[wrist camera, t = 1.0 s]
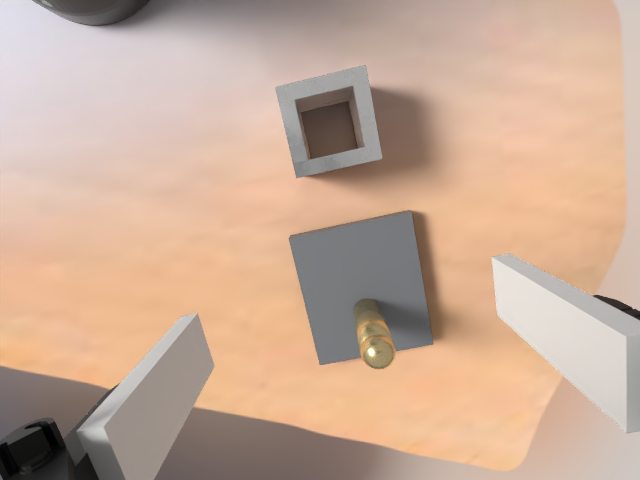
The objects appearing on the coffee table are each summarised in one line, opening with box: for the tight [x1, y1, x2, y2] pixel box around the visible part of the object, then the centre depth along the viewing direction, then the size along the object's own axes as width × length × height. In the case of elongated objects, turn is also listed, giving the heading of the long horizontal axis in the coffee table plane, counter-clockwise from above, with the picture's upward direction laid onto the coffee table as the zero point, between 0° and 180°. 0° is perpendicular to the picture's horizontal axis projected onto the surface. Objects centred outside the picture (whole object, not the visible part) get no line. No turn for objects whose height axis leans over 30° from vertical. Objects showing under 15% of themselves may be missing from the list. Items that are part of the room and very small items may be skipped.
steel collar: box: [275, 65, 383, 178], centre depth 29 cm, size 7×7×6 cm
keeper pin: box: [353, 298, 396, 369], centre depth 30 cm, size 3×3×9 cm
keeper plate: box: [289, 210, 433, 365], centre depth 35 cm, size 14×12×2 cm
